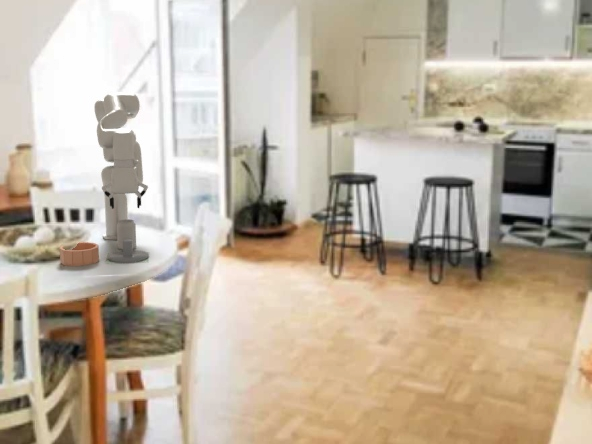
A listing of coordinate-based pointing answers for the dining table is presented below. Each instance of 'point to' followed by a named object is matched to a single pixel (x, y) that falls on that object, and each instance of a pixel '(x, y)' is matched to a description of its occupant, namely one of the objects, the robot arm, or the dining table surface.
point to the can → (126, 232)
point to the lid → (127, 254)
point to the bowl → (80, 254)
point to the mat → (133, 262)
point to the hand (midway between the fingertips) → (125, 207)
